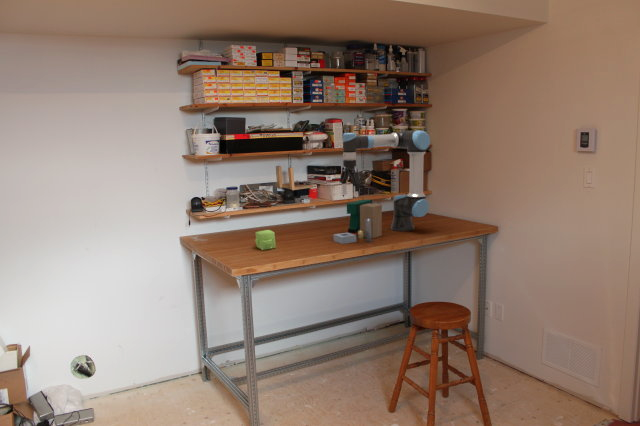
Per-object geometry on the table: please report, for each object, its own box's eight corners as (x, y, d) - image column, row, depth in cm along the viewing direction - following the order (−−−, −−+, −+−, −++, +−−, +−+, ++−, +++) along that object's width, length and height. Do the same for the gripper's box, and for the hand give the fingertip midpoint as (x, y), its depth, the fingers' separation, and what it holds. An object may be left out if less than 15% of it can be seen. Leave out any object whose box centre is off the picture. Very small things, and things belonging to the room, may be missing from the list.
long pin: (369, 241, 311) (369, 218, 309) (372, 241, 309) (372, 218, 306) (364, 241, 310) (364, 218, 308) (367, 242, 307) (367, 219, 305)
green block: (251, 246, 307) (250, 230, 306) (267, 243, 311) (266, 228, 309) (260, 251, 291) (259, 235, 289) (277, 249, 295) (276, 232, 293)
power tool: (370, 226, 358) (369, 197, 354) (379, 227, 354) (379, 197, 351) (346, 234, 332) (345, 203, 329) (355, 235, 328) (355, 204, 325)
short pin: (361, 237, 321) (361, 230, 320) (364, 238, 318) (364, 230, 317) (357, 238, 319) (357, 230, 318) (359, 239, 316) (359, 231, 315)
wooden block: (368, 234, 331) (368, 203, 328) (382, 235, 325) (382, 204, 322) (359, 236, 324) (359, 205, 320) (373, 238, 317) (373, 206, 314)
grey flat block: (347, 238, 319) (347, 232, 318) (356, 241, 310) (356, 235, 309) (333, 240, 314) (333, 234, 313) (342, 243, 305) (342, 237, 305)
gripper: (333, 158, 311) (334, 194, 315) (355, 160, 289) (355, 198, 293) (344, 158, 314) (345, 193, 318) (366, 160, 292) (366, 197, 296)
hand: (350, 195), depth 305 cm, fingers open, 13 cm apart
